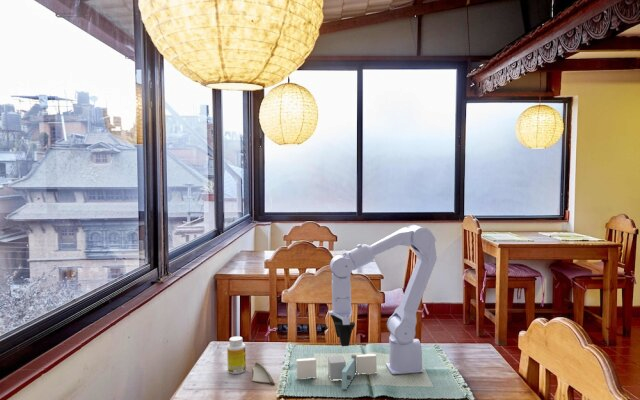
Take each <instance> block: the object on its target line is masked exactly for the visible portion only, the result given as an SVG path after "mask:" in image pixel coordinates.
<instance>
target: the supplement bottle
mask: <svg viewBox="0 0 640 400" xmlns="http://www.w3.org/2000/svg"><path fill="white" fill-rule="evenodd" d="M243 340H244V339H243V337H242V336H237V335H236V336H231V337H230V338H229V343H228V344H227V345H226V355H227V356H226V360H227V372H228V373H229V374H232V375H237V374H238V375H239V374H242V373H244V372H245V371H246V369H247V358H246V353H247V352H246V344H245V343H244V342H243Z"/></svg>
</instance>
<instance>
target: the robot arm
mask: <svg viewBox="0 0 640 400" xmlns="http://www.w3.org/2000/svg"><path fill="white" fill-rule="evenodd" d="M436 241H437V239H436V237H435V235H434V234H433V232H432V231H431V229H429V228H427V227H422V226H420V225H418V224H410V225H408V226H407V227H401V228H400V229H397V230H396V231H395V232H393V233H391V234H388V235H387V236H386V237H383V238H382V239H380V240H378V241H376V242H374V243H373V244H371V245H369V244H366V243H364V244H361V243H359V244H357V245H356V247H355V248H353V249H351V250H349V251H344V252H342V255H338V254H337V255H336V256H333V257H332V259H331V260H330V262H329V264H328V265H329V267H328V268H329V269H330V271H331V307H332V310H328V315H329V316H330V317H331V319H332V321H333V325H334V329H335V330H334V331H335V333H336V334H335V335H336V337H337V338H339V342H340V345H341V347H349V345H350V342H351V336H352V333H353V331H354V327H356V323H355V322H354V321H352V322H351V317H352V315H353V310H352V284H351V283H352V281H351V274H352V272H353V271H356V270H357V269H359V268H362V267H364V266H366V265H368V264H370V263H373V262H374V259H375V257H376V256H378V255H380V254H382V253H385V252H386V251H389V250H391V249H393V248H395V247H397V246H405V247H411V248H412V250H413V252H414V254H415V256H416V257H417V259H416V261H415V265H414V267H413V270H412V273H411V275H410V277H409V280H408V283H407V286H406V288H405V291H404V293H403V296H402V299H401V301H400V304H399V306H397V307H396V308H395V309H394V312H393V313H392V315H391V316H389V318H388V319H387V321H386V326H387V327H386V328H387V330H388V331H389V332H390V335H389V337H388V347H389V348H388V349H389V351H388V354H389V357H388V359H389V362H385V366H387V368H388V370H389V372H390V374H392V375H402V374H413V373H414V374H415V373H423V371H424V370H423V352H422V351H423V350H422V345H421V341H420V339H419V338H415V337H416V326H417V322H418V320H417V312H418V310H419V306H420V304H421V301H422V298H423V296H424V293H425V291H426V288H427V286H428V282H429V280H430V278H431V275H432V273H433V270H434V267H435V265H436V262H437V259H438V258H437V257H438V256H437V250H436V248H437V247H436Z"/></svg>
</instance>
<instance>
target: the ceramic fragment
mask: <svg viewBox="0 0 640 400" xmlns="http://www.w3.org/2000/svg"><path fill="white" fill-rule="evenodd" d="M251 370H252V372H253V375H252V379H251V382H254V383H258V384H269V385H273V386H274V385H276V383H275V381H274V379H273V378H272V376H271V374H270V372H269V371H268V370H267V368H266V367H265V366H264V365H263V364H262V363H261V362H258V361H256V362H255V364H254V366H253V368H252V369H251Z"/></svg>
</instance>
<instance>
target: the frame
mask: <svg viewBox="0 0 640 400" xmlns="http://www.w3.org/2000/svg"><path fill="white" fill-rule="evenodd" d="M350 356H351V358H355V373H356V375H357V374H358V373H359V374H362V373H375V372H377V355H376V353H366V354H355V353H354V354H351V355H350ZM351 358H350V359H351ZM356 371H357V372H356ZM377 373H378V372H377ZM308 377H316V378H317V360H316V357H308V358H296V380H297V379H299V380H302V379H301V378H308Z"/></svg>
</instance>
